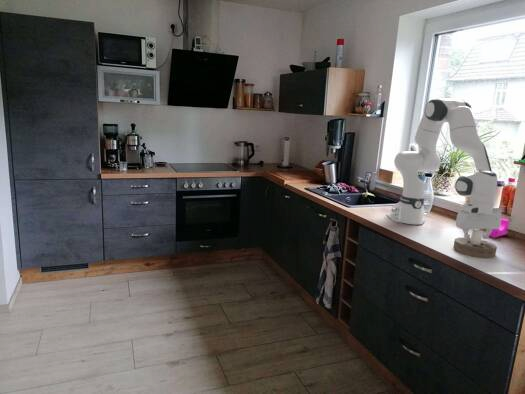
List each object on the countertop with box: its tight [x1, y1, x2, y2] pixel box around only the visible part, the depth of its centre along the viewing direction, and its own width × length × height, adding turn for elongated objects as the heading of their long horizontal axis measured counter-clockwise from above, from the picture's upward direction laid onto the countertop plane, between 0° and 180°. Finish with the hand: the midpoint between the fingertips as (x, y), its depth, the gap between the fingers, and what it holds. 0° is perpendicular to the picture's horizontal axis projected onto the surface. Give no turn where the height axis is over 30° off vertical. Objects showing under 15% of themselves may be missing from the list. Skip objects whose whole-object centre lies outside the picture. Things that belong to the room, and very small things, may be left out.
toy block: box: [485, 218, 510, 239], centre depth 207 cm, size 15×6×8 cm, turn 126°
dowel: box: [470, 229, 484, 245], centre depth 173 cm, size 4×4×10 cm
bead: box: [453, 236, 498, 259], centre depth 174 cm, size 16×16×4 cm
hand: (476, 238), depth 173 cm, fingers open, 8 cm apart
